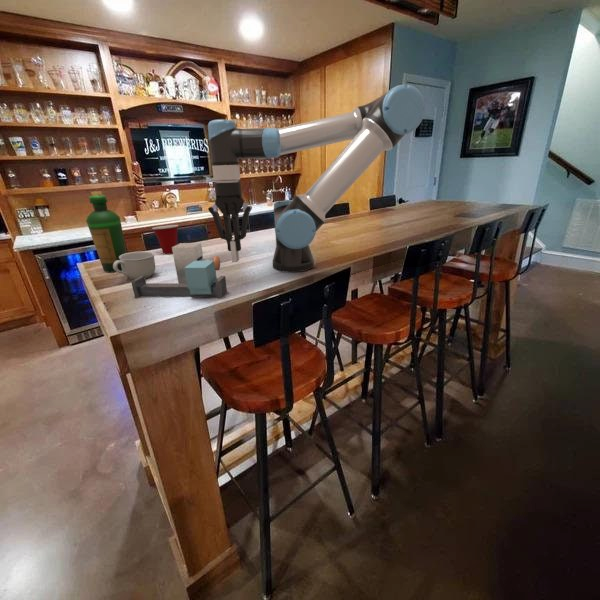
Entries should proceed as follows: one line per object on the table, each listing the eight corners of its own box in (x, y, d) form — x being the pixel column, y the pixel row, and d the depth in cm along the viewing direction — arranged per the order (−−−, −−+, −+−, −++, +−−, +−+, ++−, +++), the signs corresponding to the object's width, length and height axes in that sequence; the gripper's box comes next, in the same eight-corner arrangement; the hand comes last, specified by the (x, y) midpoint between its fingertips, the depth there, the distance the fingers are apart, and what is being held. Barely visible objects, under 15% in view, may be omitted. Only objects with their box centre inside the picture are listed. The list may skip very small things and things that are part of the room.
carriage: (217, 286, 96) (214, 260, 92) (209, 295, 89) (205, 267, 86) (198, 286, 96) (194, 260, 93) (189, 295, 90) (184, 267, 87)
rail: (227, 291, 95) (225, 275, 93) (221, 298, 90) (219, 281, 88) (144, 291, 97) (140, 276, 95) (135, 297, 93) (131, 281, 91)
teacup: (149, 270, 118) (144, 249, 115) (164, 275, 112) (159, 253, 109) (109, 280, 109) (103, 257, 105) (123, 286, 102) (117, 262, 99)
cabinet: (206, 278, 107) (201, 242, 103) (199, 284, 102) (193, 247, 97) (186, 278, 108) (180, 243, 103) (178, 284, 103) (171, 247, 98)
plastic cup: (178, 248, 150) (173, 222, 145) (186, 252, 142) (181, 225, 137) (154, 252, 144) (148, 225, 139) (161, 257, 136) (155, 228, 131)
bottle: (98, 269, 121) (75, 192, 111) (128, 263, 128) (110, 190, 117) (104, 275, 114) (80, 193, 103) (135, 269, 120) (116, 191, 109)
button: (221, 267, 105) (219, 254, 103) (216, 272, 101) (214, 258, 99) (203, 268, 105) (201, 255, 103) (198, 272, 101) (196, 258, 99)
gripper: (252, 180, 95) (258, 257, 104) (210, 181, 96) (219, 257, 105) (246, 181, 88) (253, 264, 97) (200, 182, 89) (211, 264, 98)
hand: (235, 260), depth 101 cm, fingers closed
